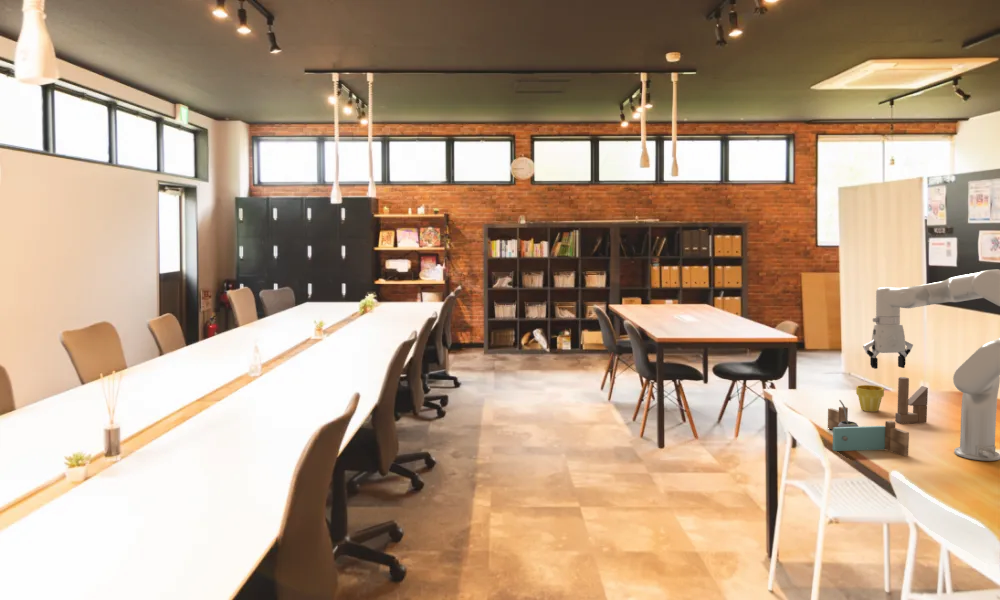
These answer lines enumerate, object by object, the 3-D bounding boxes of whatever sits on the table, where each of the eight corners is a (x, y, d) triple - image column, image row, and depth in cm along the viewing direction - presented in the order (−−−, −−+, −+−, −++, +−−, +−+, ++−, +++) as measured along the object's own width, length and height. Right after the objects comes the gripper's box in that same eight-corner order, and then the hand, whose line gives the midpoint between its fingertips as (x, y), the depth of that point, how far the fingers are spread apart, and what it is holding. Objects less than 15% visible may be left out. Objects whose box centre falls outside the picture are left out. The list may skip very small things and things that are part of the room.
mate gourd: (855, 449, 239) (856, 406, 237) (831, 444, 244) (832, 403, 243) (862, 444, 244) (863, 402, 243) (838, 440, 249) (839, 399, 248)
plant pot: (859, 412, 288) (860, 389, 287) (853, 406, 298) (853, 384, 297) (886, 413, 286) (887, 390, 285) (879, 407, 296) (879, 385, 295)
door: (882, 448, 239) (883, 425, 238) (886, 450, 237) (887, 427, 236) (832, 450, 238) (833, 427, 237) (836, 452, 236) (836, 429, 235)
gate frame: (909, 455, 230) (910, 426, 229) (903, 456, 230) (904, 426, 229) (832, 428, 265) (832, 403, 264) (826, 429, 264) (827, 403, 263)
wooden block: (927, 423, 270) (928, 378, 268) (900, 423, 269) (901, 378, 268) (920, 420, 274) (922, 376, 272) (894, 421, 273) (896, 377, 272)
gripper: (868, 322, 245) (868, 370, 246) (918, 321, 244) (918, 368, 245) (858, 320, 252) (858, 366, 253) (906, 319, 252) (906, 365, 253)
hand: (887, 367), depth 249 cm, fingers open, 9 cm apart
